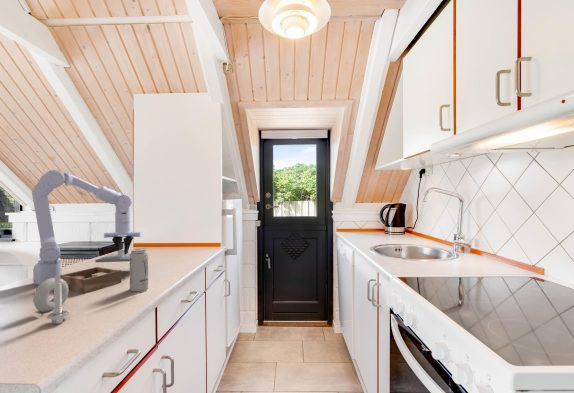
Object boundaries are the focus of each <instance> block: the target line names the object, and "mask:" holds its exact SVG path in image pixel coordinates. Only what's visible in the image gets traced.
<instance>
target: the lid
mask: <svg viewBox="0 0 574 393" xmlns="http://www.w3.org/2000/svg"><path fill="white" fill-rule="evenodd" d="M117 262H118V263H120V262H130V253H128V254H125V253H124V248H122V250H119V251H117V253H112V254H108V255H106V256H103V257H100V258H97V259H95V260H94V263H117Z"/></svg>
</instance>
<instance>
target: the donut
mask: <svg viewBox="0 0 574 393" xmlns="http://www.w3.org/2000/svg"><path fill="white" fill-rule="evenodd" d="M60 280H61V285H62V286H61V287H62V288H61V289H62V290H61V291H62V292H61V293H62V294H61V295H62V297H61V298H62V299H61V300H62V301H61V302H62V303H61V304H62V305H61V306H62V307H63V305H64V304H65V302H66V300H67V299H68V296H69V289H68V285H67V283H66V282H65V281H64V280H63V279H60ZM54 285H55V278H50V279H48V280H45V281H44V282H43V283H41V284H40V285H38V287H37V288H36V289H35V291H34V294H33V300H32V301H33V305H34V307H35V309H36V310H38V311H39V312H41V313H49V312H53V311H54V301H53V300H54V299H53V298H52V299H50V300H49V294H50V293H51V292H52V291H53V290H54V288H53V287H54Z"/></svg>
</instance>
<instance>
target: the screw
mask: <svg viewBox="0 0 574 393" xmlns="http://www.w3.org/2000/svg"><path fill="white" fill-rule="evenodd" d="M61 286H62V285H61V280H60V276H59V275H56V276H55V285H54V287H53V288H54V289H53V298H52V299H54V300H53V301H54V310H53V311H52V312H50V313H49V314H48V315H46V319H47V320H51V324H52V325H58V324H61V323H64V321H65V319H64V318H65V317H67V316H69V315H70V313H69V311H68V310H62V309H63V305H62V304H61V303H62V302H61V301H62V300H61V299H62V298H61V297H62V295H61V294H62V293H61V292H62V291H61V290H62V289H61V288H62V287H61ZM61 305H62V306H61Z"/></svg>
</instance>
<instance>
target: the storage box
mask: <svg viewBox="0 0 574 393" xmlns="http://www.w3.org/2000/svg"><path fill="white" fill-rule="evenodd" d="M101 272H104V273H107V274H103V275H99V276H96V277H92V274H96V273H101ZM74 276H83V277H85V279H82V278H76V277H74ZM87 278H88V279H87ZM60 279H63V280H64V281H65V282H66V283H67V285H68V289H69V291H70V292H74V293H79V294H88V293H92V292H95V291H98V290H101V289H105V288H108V287H112V286H115V285H118V284H122V270H121V269H113V268H107V267H99V266H95V267H92V268H88V269H84V270H78V271H74V272H70V273H65V274H62V275H60ZM69 291H68V292H69Z"/></svg>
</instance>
